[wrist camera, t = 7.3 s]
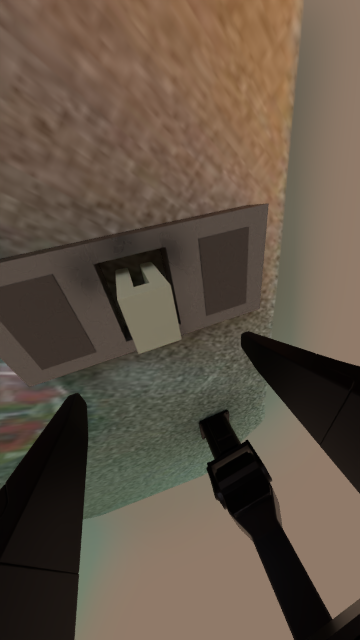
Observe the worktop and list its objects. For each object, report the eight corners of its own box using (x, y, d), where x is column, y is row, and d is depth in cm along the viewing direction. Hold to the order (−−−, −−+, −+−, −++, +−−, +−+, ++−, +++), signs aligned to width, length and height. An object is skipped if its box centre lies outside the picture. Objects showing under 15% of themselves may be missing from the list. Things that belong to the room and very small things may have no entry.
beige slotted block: (161, 302, 21) (181, 339, 15) (130, 311, 20) (138, 354, 14) (150, 261, 18) (170, 284, 12) (115, 270, 18) (117, 299, 12)
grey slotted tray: (244, 299, 25) (259, 309, 22) (39, 365, 20) (28, 387, 17) (247, 205, 19) (269, 203, 16) (-44, 268, 14) (-78, 280, 11)
